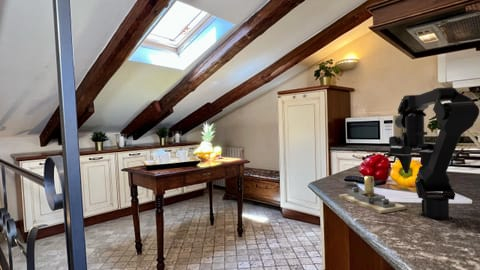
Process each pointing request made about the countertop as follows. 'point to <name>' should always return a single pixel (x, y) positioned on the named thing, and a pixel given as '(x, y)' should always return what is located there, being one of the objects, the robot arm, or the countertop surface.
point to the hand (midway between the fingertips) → (415, 172)
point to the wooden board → (372, 206)
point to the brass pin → (369, 186)
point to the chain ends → (370, 198)
